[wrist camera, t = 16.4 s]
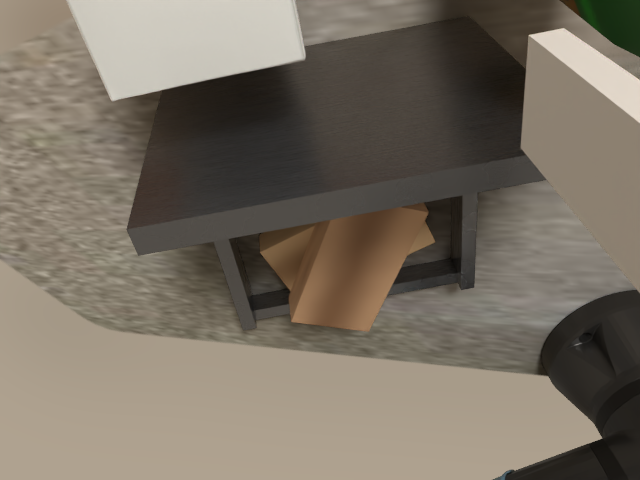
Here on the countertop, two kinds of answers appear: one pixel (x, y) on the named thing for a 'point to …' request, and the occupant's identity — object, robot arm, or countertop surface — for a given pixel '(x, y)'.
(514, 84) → the stand
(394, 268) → the offcut upper
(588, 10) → the bottle
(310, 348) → the countertop surface
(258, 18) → the supplement box
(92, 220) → the countertop surface
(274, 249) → the offcut lower
